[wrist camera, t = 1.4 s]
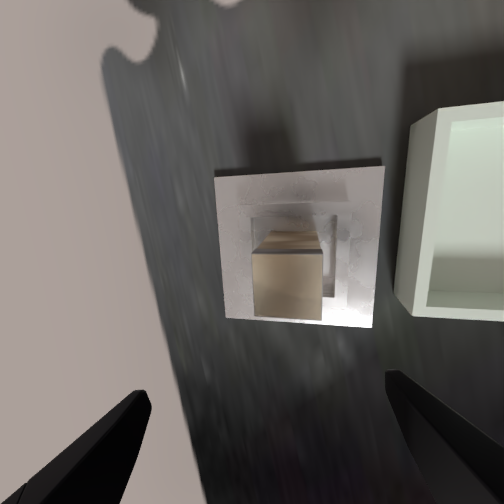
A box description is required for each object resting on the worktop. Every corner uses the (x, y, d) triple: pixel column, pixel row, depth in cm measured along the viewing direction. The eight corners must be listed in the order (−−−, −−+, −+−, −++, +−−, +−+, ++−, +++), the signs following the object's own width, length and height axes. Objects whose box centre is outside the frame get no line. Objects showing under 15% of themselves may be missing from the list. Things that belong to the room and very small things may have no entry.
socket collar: (382, 166, 19) (391, 163, 17) (369, 324, 22) (376, 337, 20) (216, 177, 22) (207, 176, 20) (227, 314, 25) (220, 325, 23)
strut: (317, 230, 21) (323, 254, 13) (316, 275, 22) (321, 321, 14) (270, 231, 22) (250, 253, 14) (271, 273, 23) (254, 316, 15)
